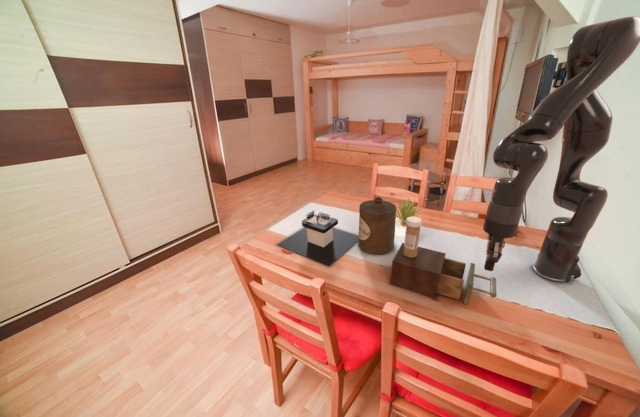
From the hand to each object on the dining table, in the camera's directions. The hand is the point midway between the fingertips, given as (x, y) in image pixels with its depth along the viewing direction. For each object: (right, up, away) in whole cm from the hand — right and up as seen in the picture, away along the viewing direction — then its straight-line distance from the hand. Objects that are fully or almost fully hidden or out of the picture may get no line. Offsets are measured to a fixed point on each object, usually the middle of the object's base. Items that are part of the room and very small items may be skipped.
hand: (488, 269), depth 77 cm
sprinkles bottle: (-19, +2, +12) cm, 23 cm away
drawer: (-5, -8, +8) cm, 13 cm away
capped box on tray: (-50, +3, +40) cm, 64 cm away
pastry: (+35, +8, +42) cm, 55 cm away
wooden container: (-26, +2, +35) cm, 44 cm away
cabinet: (-16, -7, +14) cm, 23 cm away
